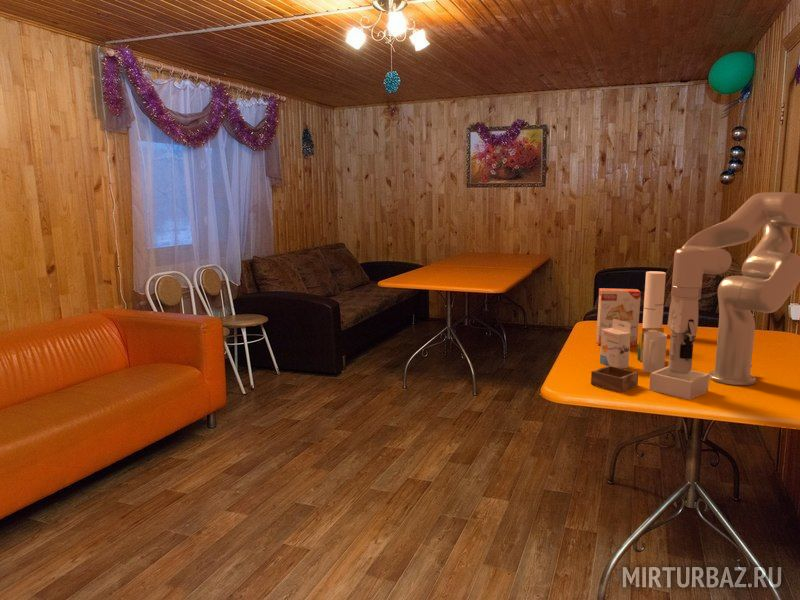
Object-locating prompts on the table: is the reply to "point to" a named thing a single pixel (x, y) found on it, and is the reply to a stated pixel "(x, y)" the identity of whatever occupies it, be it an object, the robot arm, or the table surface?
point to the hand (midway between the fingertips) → (680, 354)
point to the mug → (654, 351)
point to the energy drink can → (675, 361)
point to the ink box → (616, 345)
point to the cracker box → (618, 310)
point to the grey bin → (679, 383)
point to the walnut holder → (614, 378)
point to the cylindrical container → (654, 300)
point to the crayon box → (641, 341)
